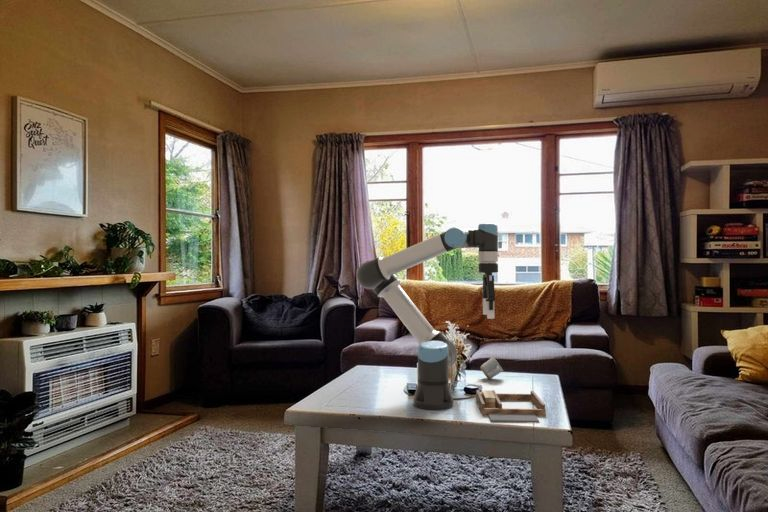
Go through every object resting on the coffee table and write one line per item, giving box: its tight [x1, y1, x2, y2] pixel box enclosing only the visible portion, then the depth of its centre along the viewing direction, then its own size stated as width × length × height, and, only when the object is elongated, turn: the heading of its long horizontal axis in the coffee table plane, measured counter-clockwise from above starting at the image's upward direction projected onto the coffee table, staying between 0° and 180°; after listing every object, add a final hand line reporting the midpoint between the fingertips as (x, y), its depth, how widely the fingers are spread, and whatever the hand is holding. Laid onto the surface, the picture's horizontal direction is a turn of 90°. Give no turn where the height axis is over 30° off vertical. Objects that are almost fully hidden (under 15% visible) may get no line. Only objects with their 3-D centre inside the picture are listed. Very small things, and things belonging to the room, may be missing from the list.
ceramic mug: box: [480, 356, 504, 380], centre depth 236 cm, size 11×8×8 cm
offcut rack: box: [475, 389, 547, 417], centre depth 192 cm, size 22×21×4 cm
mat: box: [488, 413, 540, 423], centre depth 179 cm, size 16×9×1 cm, turn 86°
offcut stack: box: [481, 390, 496, 408], centre depth 193 cm, size 4×12×5 cm, turn 176°
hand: (488, 316), depth 203 cm, fingers open, 13 cm apart
